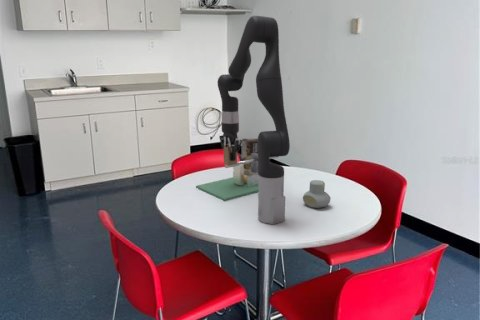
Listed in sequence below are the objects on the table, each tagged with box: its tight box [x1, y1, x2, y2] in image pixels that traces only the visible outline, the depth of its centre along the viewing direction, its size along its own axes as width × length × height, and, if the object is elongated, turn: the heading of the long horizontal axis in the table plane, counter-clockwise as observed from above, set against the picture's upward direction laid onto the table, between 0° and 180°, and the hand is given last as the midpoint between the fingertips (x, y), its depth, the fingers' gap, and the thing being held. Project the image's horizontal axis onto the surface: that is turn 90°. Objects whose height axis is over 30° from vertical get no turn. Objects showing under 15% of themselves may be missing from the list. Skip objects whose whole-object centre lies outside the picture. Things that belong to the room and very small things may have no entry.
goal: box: [244, 169, 259, 187], centre depth 197 cm, size 11×6×5 cm, turn 38°
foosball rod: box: [223, 146, 280, 186], centre depth 198 cm, size 5×31×18 cm, turn 128°
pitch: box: [195, 176, 258, 202], centre depth 193 cm, size 22×24×1 cm
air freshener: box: [302, 179, 331, 209], centre depth 171 cm, size 11×8×10 cm
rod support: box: [251, 153, 259, 174], centre depth 200 cm, size 7×2×14 cm, turn 38°
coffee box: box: [241, 138, 258, 171], centre depth 220 cm, size 9×6×16 cm
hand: (230, 159), depth 189 cm, fingers closed on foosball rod, 3 cm apart
